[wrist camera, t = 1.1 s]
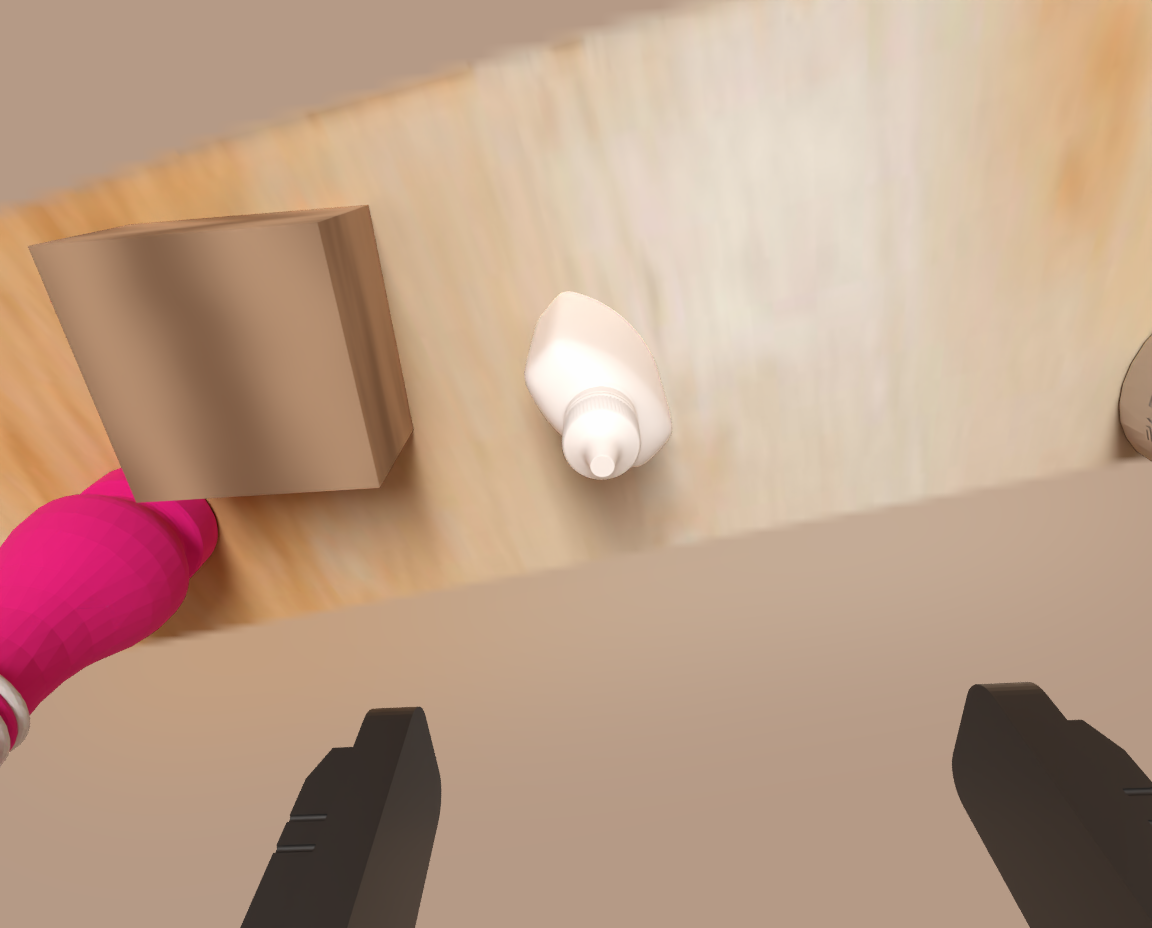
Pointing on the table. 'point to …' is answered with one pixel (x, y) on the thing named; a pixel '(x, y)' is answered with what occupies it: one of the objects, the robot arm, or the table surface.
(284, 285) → the walnut box
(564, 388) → the eye dropper bottle
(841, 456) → the table surface
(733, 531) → the table surface
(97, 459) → the table surface
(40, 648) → the pepper mill
